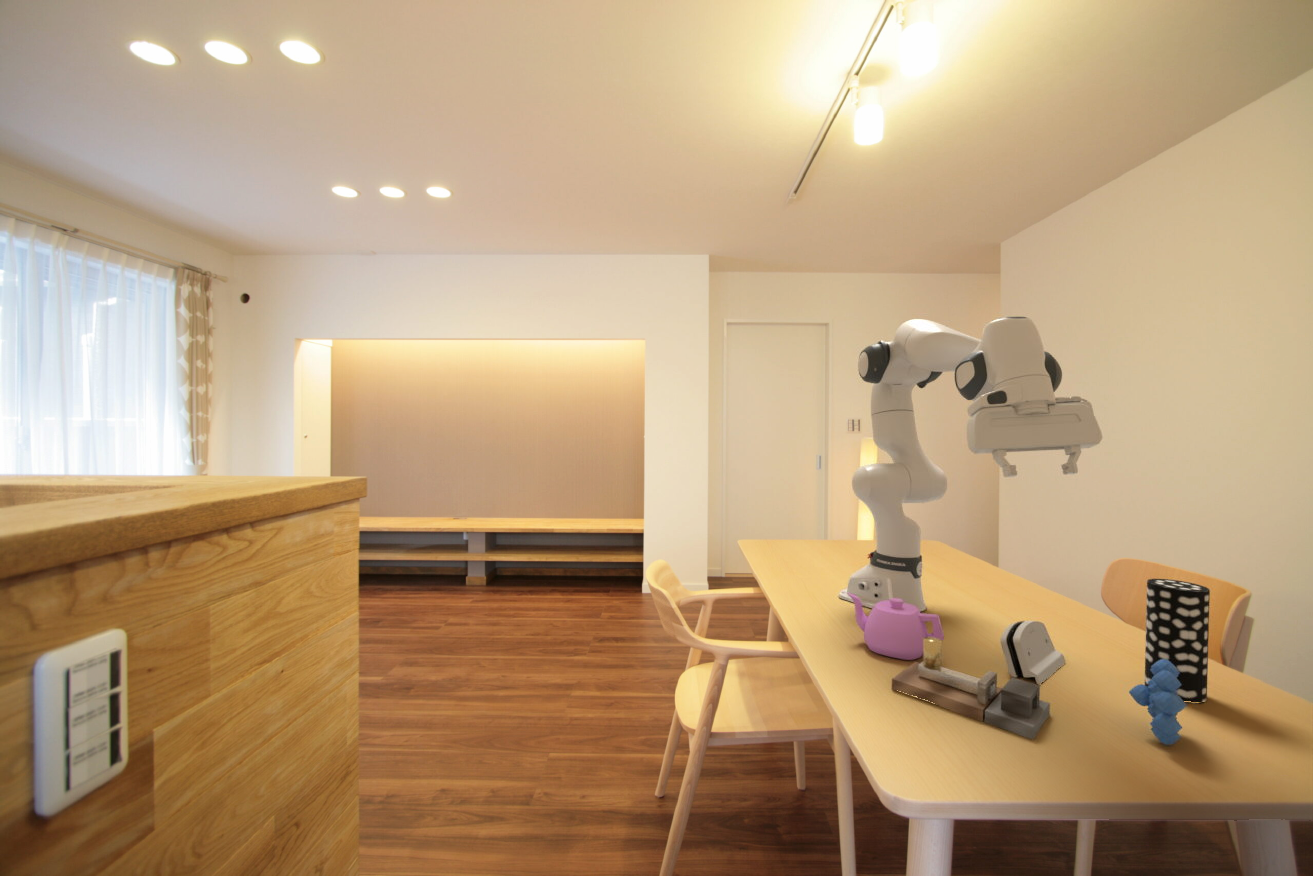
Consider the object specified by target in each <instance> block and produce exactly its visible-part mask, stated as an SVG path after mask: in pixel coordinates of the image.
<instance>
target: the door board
mask: <svg viewBox="0 0 1313 876" xmlns="http://www.w3.org/2000/svg"><path fill="white" fill-rule="evenodd" d="M920 663H921V662H918V661H915V662H913V663H912V664H911V665H909V666H908V667H906V668H905V669H903V670H902V671H900V673H898V674H896V675H895V676H893V678H891V690H892V689H895V690H898V691H901V692H904V693H907V694H909V695H913V696H917V697H918V698H921V699H925V700H928V701H930V702H933V703H935V704H937V705H940V706H942V707H944V708H943V709H945V708H947V709H946V710H948V709H949V711H951V712H953V713H957V714H959V715H962V716H964V717H965V716H966V717H968V718H970V719H973V720H976V721H979V722H982V723H983V722H984V723H985V724H987V725H990V726H993V727H996V728H999V729H1001V730H1004V731H1007V732H1010V733H1013V734H1016V735H1019V736H1021V737H1025V738H1027V739H1029V740H1032V741H1033V740H1034V739H1035V737H1036V736H1037V735H1038V733H1039V731H1041V729H1042V727H1043V725H1044V724H1045V722H1046V720H1047V719H1048V718H1049V716H1050V709H1051V707H1050V704H1051V703H1050V702H1048V701H1045V700H1041V699H1040V694H1041V693H1040V687H1041V685H1037V683H1034V682H1033V683H1032V682H1029V681H1025V680H1022V679H1018V678H1017V677H1011V678H1010V679H1009V680H1008V681H1007V683H1005V685H1004V686H1003V687H998V686H997V685H998V684H997V683H998V681H997V680H998V672H995V671H992V670H988V671H987V672H986V673H985V674H984V675H983V676H982V677H981V678H980V680H979V681H978V689H977V695H976V694H973V693H970V692H967V691H964V690H961V689H958V688H955V687H952V686H949V685H945V684H942V683H939V682H936V681H933V680H930V679H927V678H924V677H921V676H918V665H919V664H920ZM992 682H993V683H995V695H994V696H993V698H992V699H988V686H989V685H990V684H991V683H992ZM895 690H894V691H895ZM909 695H908V696H909ZM937 705H936V706H937ZM940 706H939V707H940ZM942 707H941V708H942Z"/></svg>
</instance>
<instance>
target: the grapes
mask: <svg viewBox="0 0 1313 876" xmlns="http://www.w3.org/2000/svg"><path fill="white" fill-rule="evenodd" d="M1151 667H1152V668H1151V669H1150V670H1151V672H1152V673H1153V675H1154V677H1152V679H1151V680H1150V681H1148V683H1147V684H1148V685H1149V686H1148V687H1147V686H1145V684H1142V683H1140V684H1137V685H1135V686H1134V687H1132V688H1131V689H1129V691H1128V693H1129V694H1130V696H1131V697H1132V699H1133V700H1134V701H1135V702H1136V703H1137V705H1140V706H1142V707H1147V713H1148V714H1149V715H1150V716H1151V717H1152V719H1151V722H1149V725H1150V726H1151V727H1152V728H1150V730H1151V732H1152V733H1153V735H1154V736H1155V737H1156V738H1157V740H1158V741H1159V742H1160V743H1162V744H1163V745H1165V746H1170V745H1173V744H1175V743H1176V742H1178V740H1180V739H1181V738H1182V737H1181V736H1180V734H1179V732H1180V731H1181V730H1182V729H1183V726H1182V725H1181V724H1180V722H1179V721H1178V720H1177V719H1178V718H1177V715H1178V713H1180V712H1182V711H1183V710H1185V708H1186V707H1187V703H1186V702H1184V701H1183V700H1182V699H1181V698H1180V697H1179V696H1178V695H1177V693H1176V692H1178V691H1177V689H1178V688H1179V687H1180V686H1181V685H1182V684H1181V683H1180V682H1179V680H1178V679H1177V677H1178V674H1180V672H1179V671H1178V670H1177V668H1176V667H1175V666H1174V665H1173V664H1172V663H1171V662H1170V661H1169V660H1167V659H1161V660H1159V661H1157V662H1156V663H1154V664H1153V665H1152V666H1151Z"/></svg>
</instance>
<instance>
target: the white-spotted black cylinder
mask: <svg viewBox="0 0 1313 876" xmlns="http://www.w3.org/2000/svg"><path fill="white" fill-rule="evenodd" d="M1210 593H1211V592H1210V587H1209V588H1208V587H1206V586H1204V585H1201V584H1197V583H1192V582H1188V581H1183V580H1176V579H1167V578H1149V579H1147V580H1146V615H1145V620H1146V621H1145V652H1144V653H1145V655H1144V659H1145V660H1144V665H1145V666H1144V685H1145V686H1147V687H1148V686H1149V685H1148V684H1147V683H1148V681H1150V680H1151V679H1152V677H1154V675H1153V673H1152V672H1151V670H1150V669H1151V668H1152V667H1151V666H1152V665H1153V664H1154V663H1156V662H1157V661H1159V660H1161V659H1167V660H1169V661H1170V662H1171V663H1172V664H1173V665H1174V666H1175V667H1176V668H1177V670H1178V671H1179V672H1180V674H1178V677H1177V679H1178V680H1179V682H1180V683H1181V684H1182V685H1181V686H1180V687H1179V688H1178V689H1177V691H1178V692H1176V693H1177V695H1178V696H1179V697H1180V698H1181V699H1182V700H1183V701H1191V702H1203V701H1206V700H1207V699H1208V672H1209V671H1208V669H1209V666H1208V665H1209V663H1208V662H1209V637H1210V636H1209V633H1210V632H1209V631H1210V630H1209V628H1210V627H1209V625H1210V595H1211V594H1210ZM1207 701H1208V700H1207ZM1207 701H1206V702H1207Z"/></svg>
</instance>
